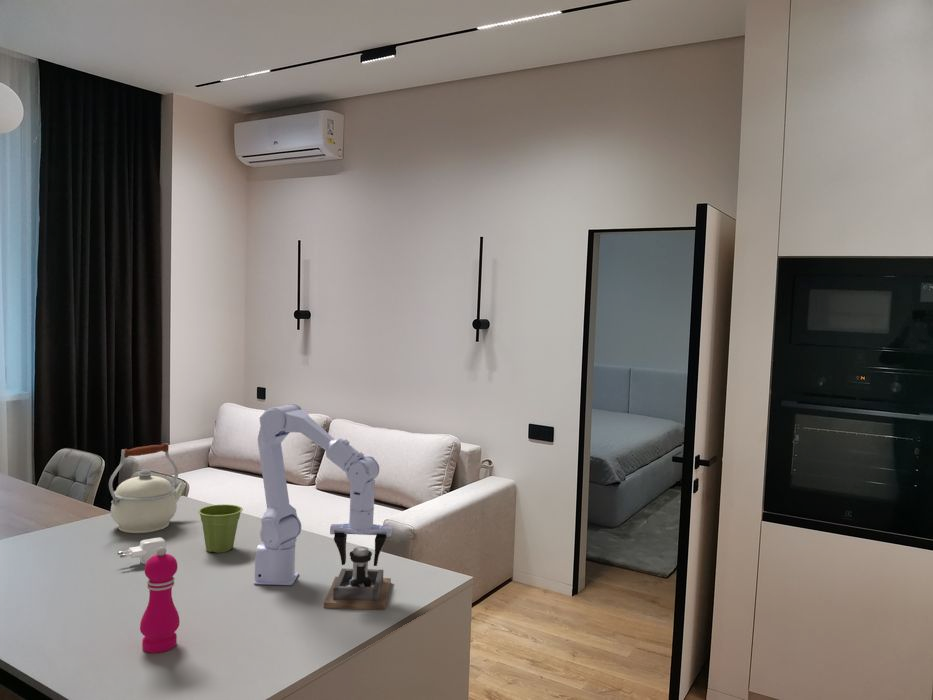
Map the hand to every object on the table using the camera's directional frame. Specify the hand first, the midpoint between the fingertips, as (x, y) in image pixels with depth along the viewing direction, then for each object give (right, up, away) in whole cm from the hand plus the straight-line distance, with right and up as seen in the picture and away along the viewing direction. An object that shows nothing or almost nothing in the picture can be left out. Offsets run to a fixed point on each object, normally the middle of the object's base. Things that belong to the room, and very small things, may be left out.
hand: (359, 564), depth 166 cm
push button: (-1, -7, 0) cm, 7 cm away
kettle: (-72, -3, +46) cm, 86 cm away
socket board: (0, -8, 0) cm, 8 cm away
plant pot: (-44, -5, +28) cm, 52 cm away
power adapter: (-60, -5, +15) cm, 62 cm away
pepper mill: (-36, -8, -29) cm, 46 cm away
